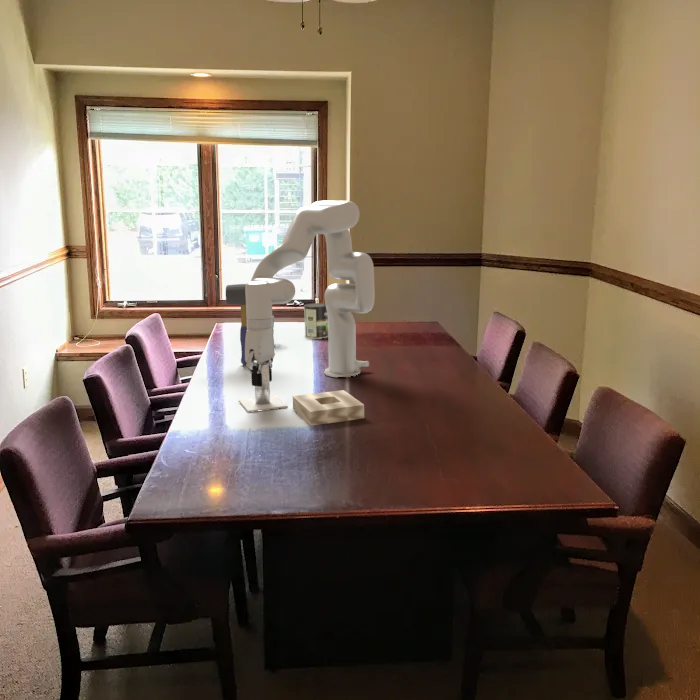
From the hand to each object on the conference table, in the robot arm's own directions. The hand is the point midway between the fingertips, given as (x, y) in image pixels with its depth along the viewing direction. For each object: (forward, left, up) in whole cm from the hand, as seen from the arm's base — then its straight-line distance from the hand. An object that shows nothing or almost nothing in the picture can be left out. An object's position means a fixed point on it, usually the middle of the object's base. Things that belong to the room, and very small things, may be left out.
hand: (262, 382), depth 211 cm
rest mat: (0, 0, -7) cm, 7 cm away
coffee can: (-47, -86, -7) cm, 98 cm away
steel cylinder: (0, 0, -6) cm, 6 cm away
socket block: (-15, +16, -7) cm, 23 cm away
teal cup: (-21, -79, -7) cm, 82 cm away
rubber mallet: (-7, -49, -7) cm, 50 cm away
